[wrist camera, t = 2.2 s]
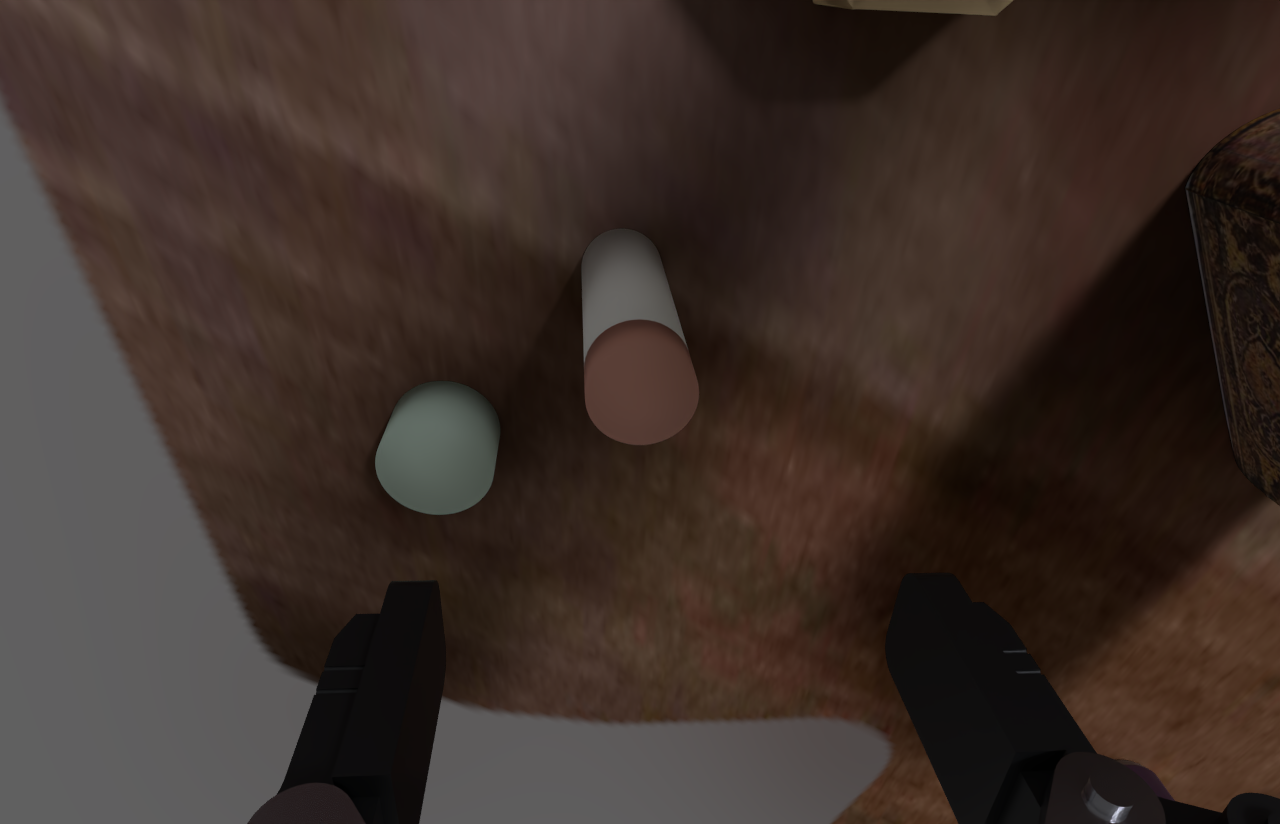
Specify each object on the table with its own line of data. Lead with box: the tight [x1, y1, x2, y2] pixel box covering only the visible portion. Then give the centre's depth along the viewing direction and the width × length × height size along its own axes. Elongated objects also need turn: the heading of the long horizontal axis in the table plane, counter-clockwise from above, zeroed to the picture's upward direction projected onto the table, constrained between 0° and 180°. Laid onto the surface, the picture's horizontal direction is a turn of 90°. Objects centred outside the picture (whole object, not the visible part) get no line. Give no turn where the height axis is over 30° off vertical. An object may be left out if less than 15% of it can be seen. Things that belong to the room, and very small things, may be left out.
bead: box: [375, 381, 500, 515], centre depth 30 cm, size 4×4×3 cm
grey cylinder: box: [581, 228, 699, 445], centre depth 24 cm, size 3×3×10 cm
